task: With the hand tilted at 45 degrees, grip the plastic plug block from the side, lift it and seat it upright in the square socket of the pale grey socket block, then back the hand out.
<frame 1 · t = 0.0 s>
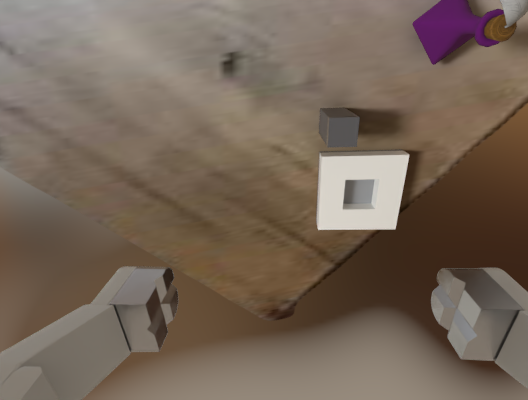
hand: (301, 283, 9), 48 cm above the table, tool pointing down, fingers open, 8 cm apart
perfume bottle: (434, 30, 46), on the table
plug: (331, 120, 53), on the table
socket block: (356, 188, 58), on the table
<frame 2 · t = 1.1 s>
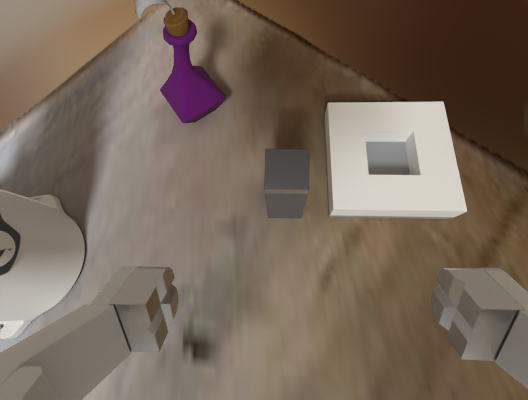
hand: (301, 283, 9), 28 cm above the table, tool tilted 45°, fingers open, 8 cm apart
perfume bottle: (198, 108, 45), on the table
plug: (284, 202, 39), on the table
socket block: (382, 164, 40), on the table
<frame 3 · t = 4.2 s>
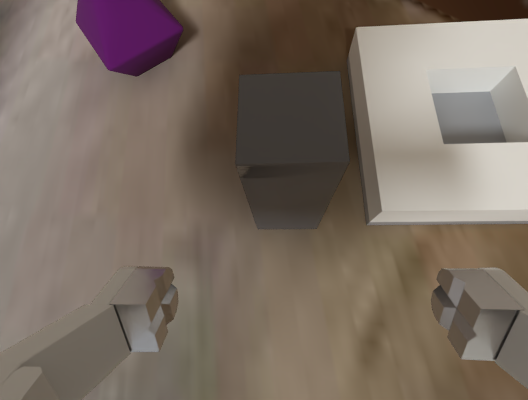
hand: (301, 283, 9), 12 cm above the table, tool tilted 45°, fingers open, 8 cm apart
perfume bottle: (145, 56, 28), on the table
plug: (286, 201, 22), on the table
socket block: (452, 131, 23), on the table
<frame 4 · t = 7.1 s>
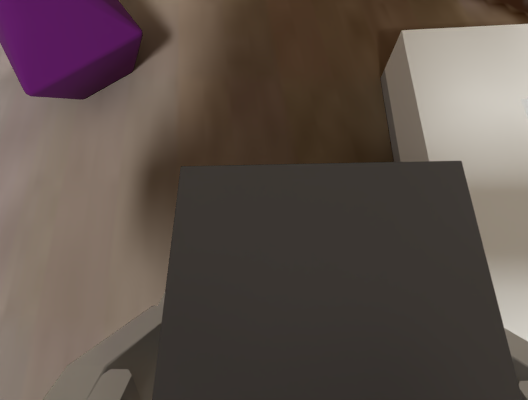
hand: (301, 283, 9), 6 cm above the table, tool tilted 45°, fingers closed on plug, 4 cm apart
perfume bottle: (98, 70, 21), on the table
plug: (294, 303, 14), on the table, touching gripper
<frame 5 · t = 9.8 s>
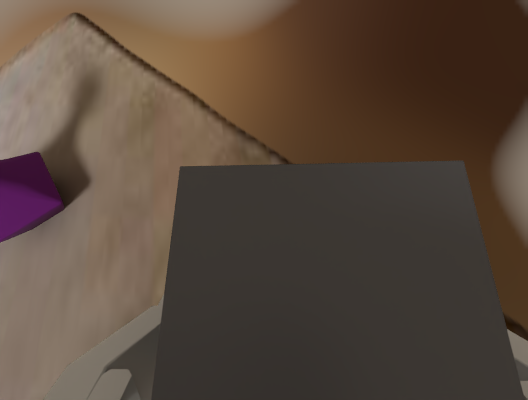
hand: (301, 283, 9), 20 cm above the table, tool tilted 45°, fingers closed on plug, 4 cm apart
perfume bottle: (43, 206, 32), on the table
plug: (294, 303, 14), point 14 cm above the table, touching gripper
when the fingers open (8 cm above the table, at t = 12.9 s): plug stays where it is, resting on socket block.
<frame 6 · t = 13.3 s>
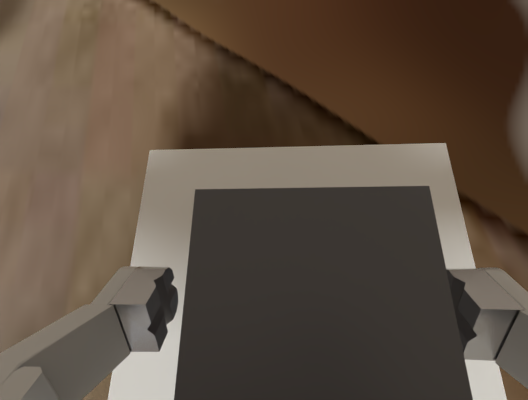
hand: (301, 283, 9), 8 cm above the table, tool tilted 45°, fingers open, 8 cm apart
plug: (293, 303, 15), point 1 cm above the table, touching socket block
socket block: (294, 302, 16), on the table
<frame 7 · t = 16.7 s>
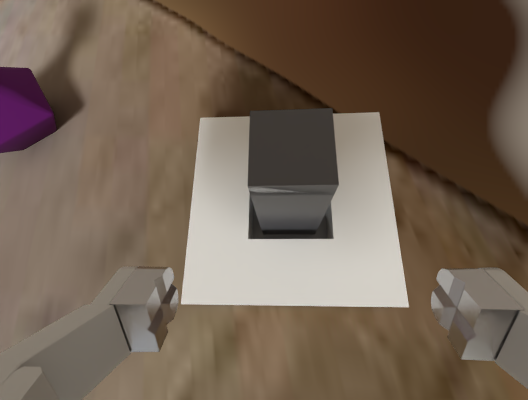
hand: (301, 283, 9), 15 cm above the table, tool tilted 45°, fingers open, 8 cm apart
perfume bottle: (35, 128, 31), on the table
plug: (288, 209, 25), point 1 cm above the table, touching socket block
socket block: (288, 211, 26), on the table
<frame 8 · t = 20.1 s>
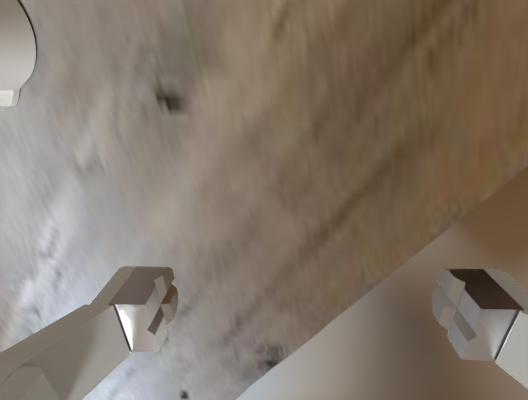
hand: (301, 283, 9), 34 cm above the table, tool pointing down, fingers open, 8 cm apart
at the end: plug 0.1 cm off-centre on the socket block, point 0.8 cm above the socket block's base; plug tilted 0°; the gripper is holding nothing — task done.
